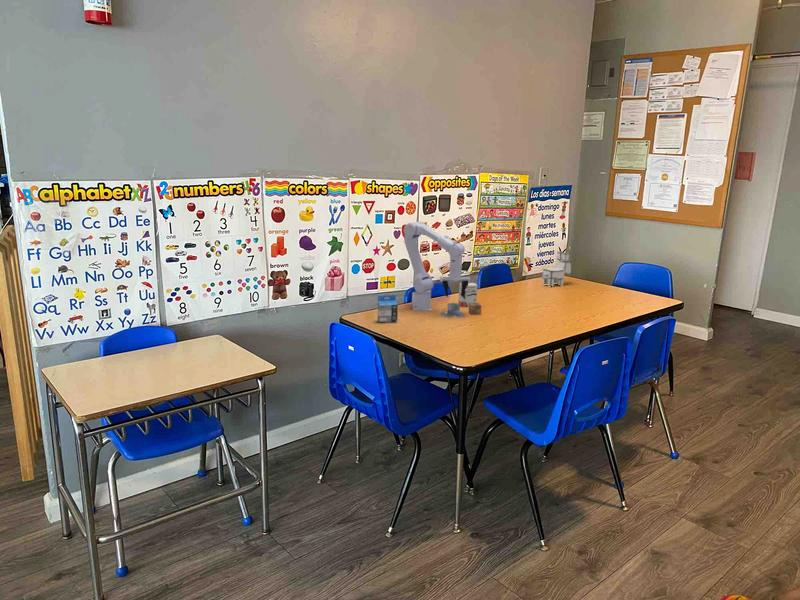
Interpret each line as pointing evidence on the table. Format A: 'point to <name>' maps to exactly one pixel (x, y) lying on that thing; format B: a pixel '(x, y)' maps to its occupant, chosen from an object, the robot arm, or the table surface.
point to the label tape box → (387, 308)
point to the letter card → (453, 316)
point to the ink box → (468, 295)
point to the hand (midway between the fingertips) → (454, 296)
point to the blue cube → (453, 309)
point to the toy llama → (557, 270)
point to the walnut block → (475, 308)
